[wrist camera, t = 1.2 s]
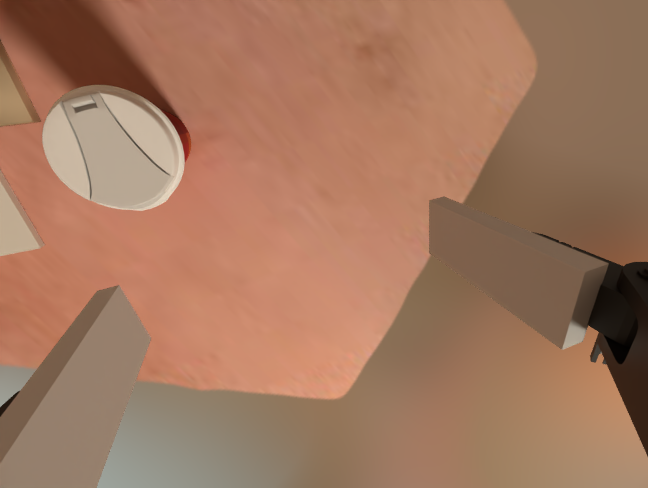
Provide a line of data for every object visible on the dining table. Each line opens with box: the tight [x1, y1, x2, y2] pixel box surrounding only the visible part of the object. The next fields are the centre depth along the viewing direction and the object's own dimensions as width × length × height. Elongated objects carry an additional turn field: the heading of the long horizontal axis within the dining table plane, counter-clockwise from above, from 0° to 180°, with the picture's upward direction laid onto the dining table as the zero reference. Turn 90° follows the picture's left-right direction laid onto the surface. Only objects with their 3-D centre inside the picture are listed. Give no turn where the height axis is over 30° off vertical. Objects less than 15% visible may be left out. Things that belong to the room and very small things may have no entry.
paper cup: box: [42, 85, 191, 211], centre depth 24 cm, size 8×8×14 cm
